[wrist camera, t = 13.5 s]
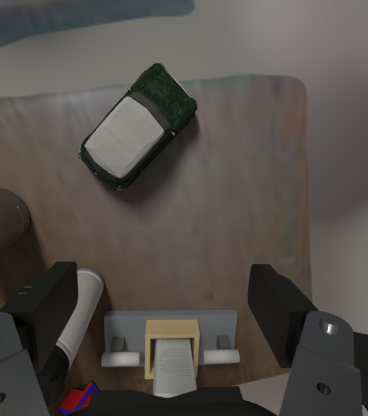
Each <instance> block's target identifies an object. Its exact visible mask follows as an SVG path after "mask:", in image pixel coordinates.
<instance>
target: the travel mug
mask: <svg viewBox="0 0 368 416" xmlns="http://www.w3.org/2000/svg"><path fill="white" fill-rule="evenodd" d="M77 275H78V294H79V295H78V303H77V306H76V308H75V310H74V312H73V314H72V316H71V318H70V319H69V321H68V323H67V325H66V327H65V329H64V330H63V332H62V334H61V336H60V338H59V339H58V341H57V343H56V345H55V347H54V349H53V350H52V352H51V354H50V356H49V358H48V359H47V361H46V363H45V365H44V367H43V369H42V370H41V372H40V373H36V377H37V380H38V383H39V386H40V389H41V392H42V395H43V398H44V401H45V404H46V407H48V406H50V405H51V404H52V403H53V402H54V401H55V400H56V398H57V396H60V395H61V394H62V392H63V390H64V380H65V377H66V375H67V374H68V372H69V369H70V367H71V365H72V362H73V360H74V358H75V355H76V353H77V351H78V348H79V346H80V344H81V341H82V339H83V337H84V334H85V332H86V330H87V327H88V325H89V323H90V320H91V318H92V316H93V313H94V311H95V308H96V306H97V304H98V301H99V299H100V297H101V294H102V292H103V290H104V280H103V278H102V276H101V275H100V274H99V273H98V272H97V271H95V270H93V269H90V268H80V269H77Z"/></svg>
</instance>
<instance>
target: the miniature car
mask: <svg viewBox="0 0 368 416" xmlns="http://www.w3.org/2000/svg"><path fill="white" fill-rule="evenodd" d="M126 88H127V87H126ZM127 89H128V91H127V93H126V94H125V95H124V96H123V97H122V98H121V99H120V100H119V102H118V103H117V104H116V105H115V106H114V107H113V108H112V109H111V111H110V112H109V113H108V114H107V115H106V116H105V118H104V119H103V120H102V121H101V123H100V124H99V125H98V126H97V127H96V129H95V130H94V131H93V132H92V133H91V134H90V135H89V136H88V137H87V138H86V139H85V140H84V142H83V143H82V145H81V146H82V147H81V149H80V150H79V152H78V153H80V154H79V155H80V156H79V158H80V159H81V160H82V161H83V162H84V163H85V164H86V165H87V167H88V168H89V169H90V170H91V171H92V172H93V173H94V174H95V175H97V176H98V177H99V178H100V179H101V180H103V181H104V182H106V183H107V184H109V185H110V186H111V187H114V189H115V190H117V189H118V190H120V191H122V190H123V189H120V188H123V186H124V187H126V188H128V186H129V185H130V184H131V183H132V182H133V181H134V180H135V179H136V178H137V177H138V176H139V175H140V173H141V172H142V170H144V169H145V168H146V167H147V166H148V165H149V164H150V163H151V161H152V160H153V159H154V158H155V157H156V156H157V155H158V154H159V153H160V152H161V151H162V150H163V149H164V148H165V147H166V146H167V145H168V143H169V142H170V141H171V140H172V139H173V138H174V137H175V136H176V135H177V134H178V133H179V132H180V131H181V130H182V129H183V128H184V127H185V126H186V125H187V124H188V123H189V122H190V121H191V120H192V118H193V117H194V116H195V110H197V103H196V100H195V99H193V98H191V97H190V95H189V94H188V93H187V92H186V91H185V89H184V88H183V87H182V86H181V85H180V83H179V82H178V81H177V80H176V79H174V78H173V77H172V76H171V75H170V74H169V73H168V72H167V71H166V70H165V68H164V66H163V65H162V64H160V63H159V64H158V63H155V64H153V65H152V66H151V67H150V68H147V69H146V70H145V71H144V72H143V73H142V74H141V75H140V77H139V78H138V80H137V81H136V82H135V83H134V84H133V85H132V87H131V88H127ZM179 130H180V131H179ZM178 131H179V132H178Z"/></svg>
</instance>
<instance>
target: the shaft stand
mask: <svg viewBox="0 0 368 416" xmlns="http://www.w3.org/2000/svg"><path fill="white" fill-rule="evenodd" d="M237 316H238V314H237V312H236V310H235V309H228V310H129V311H106V312H105V315H104V329H105V352H104V353H103V355H102V362H101V365H102V367H103V366H106V368H109V367H143V366H145V379H154V358H155V343H156V338H190V344H191V351H192V359H193V366H194V373H195V377H197V367H198V365H213V364H232V363H239V361H240V356H239V351H238V349H234V344H235V335H236V325H237Z"/></svg>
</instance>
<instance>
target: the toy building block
mask: <svg viewBox="0 0 368 416" xmlns="http://www.w3.org/2000/svg"><path fill="white" fill-rule="evenodd" d="M93 391H98V390H97V388H96V386H95V385H94V383H93V382H90V383H89V384H88V386H87V387H86V388H85V390H84V391H82V390H76V389H72V390H71V391H70V392H69V394H68V395H67V396H66V398H65V399H64V401H63V402H62V403H61V405H60V406H59V407H58V408H59V409H60V411H61V412H62V414H63V415H64V416H65V415H67V414H68V413H70V412H72V411H75V410H77V409H79V408H82V407H85V406H88V405H89V402H90V399H91V395H92V392H93Z"/></svg>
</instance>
